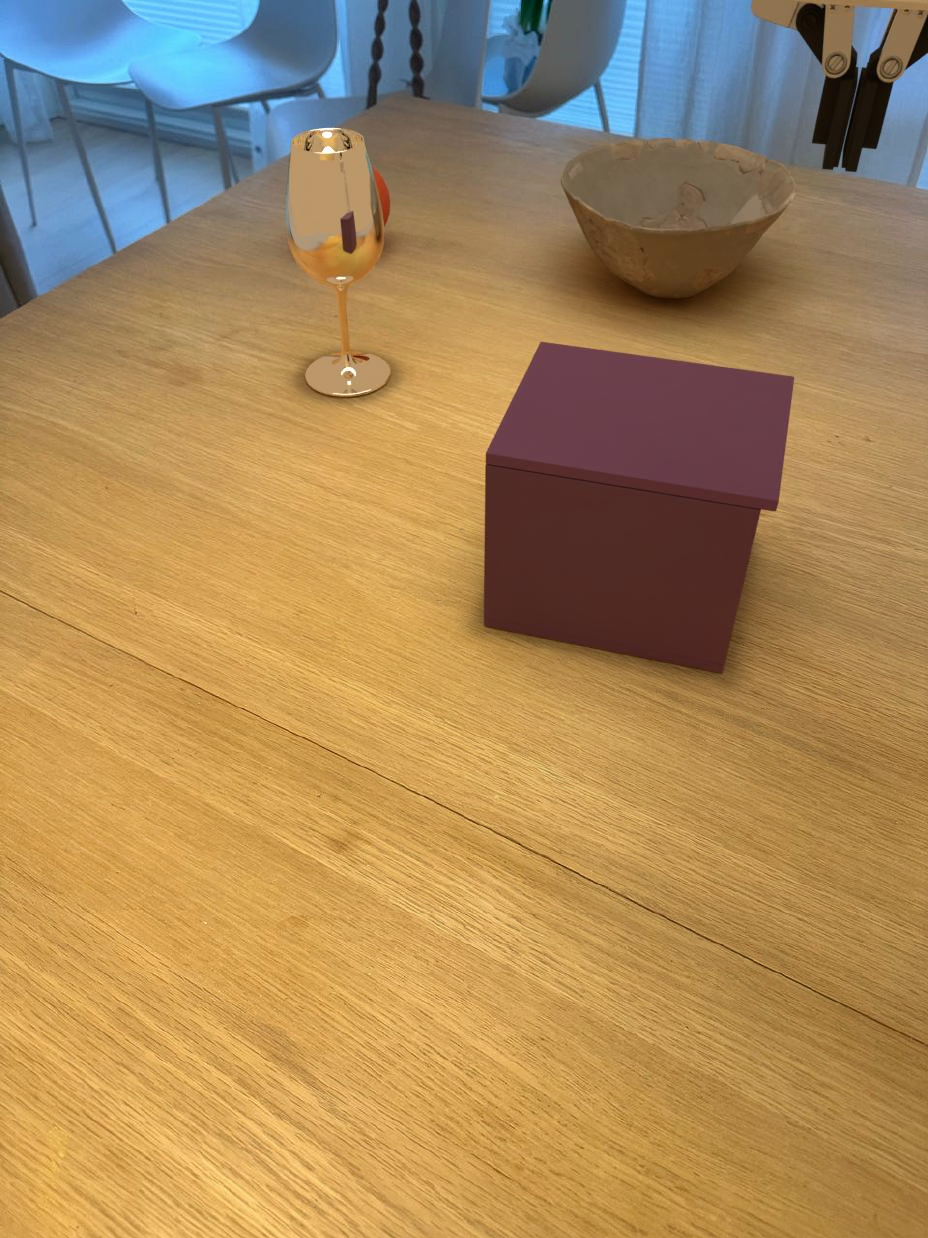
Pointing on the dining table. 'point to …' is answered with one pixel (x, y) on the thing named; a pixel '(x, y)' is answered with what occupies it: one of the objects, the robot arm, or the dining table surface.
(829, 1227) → the dining table surface
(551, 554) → the purple box
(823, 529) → the dining table surface
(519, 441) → the purple box lid
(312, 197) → the wineglass
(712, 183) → the ceramic bowl
